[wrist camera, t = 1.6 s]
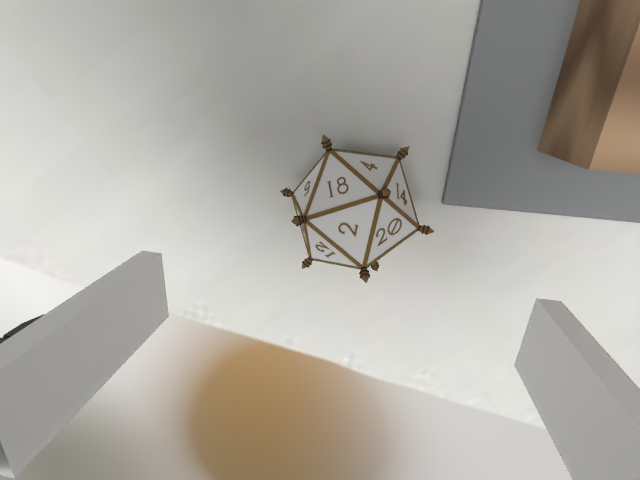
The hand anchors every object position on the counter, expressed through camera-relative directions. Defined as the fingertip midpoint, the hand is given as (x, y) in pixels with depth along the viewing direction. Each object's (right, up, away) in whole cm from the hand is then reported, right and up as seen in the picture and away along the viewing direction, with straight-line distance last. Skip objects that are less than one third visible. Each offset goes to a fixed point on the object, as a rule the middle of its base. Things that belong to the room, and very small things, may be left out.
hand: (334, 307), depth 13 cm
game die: (+2, +6, +13) cm, 15 cm away
